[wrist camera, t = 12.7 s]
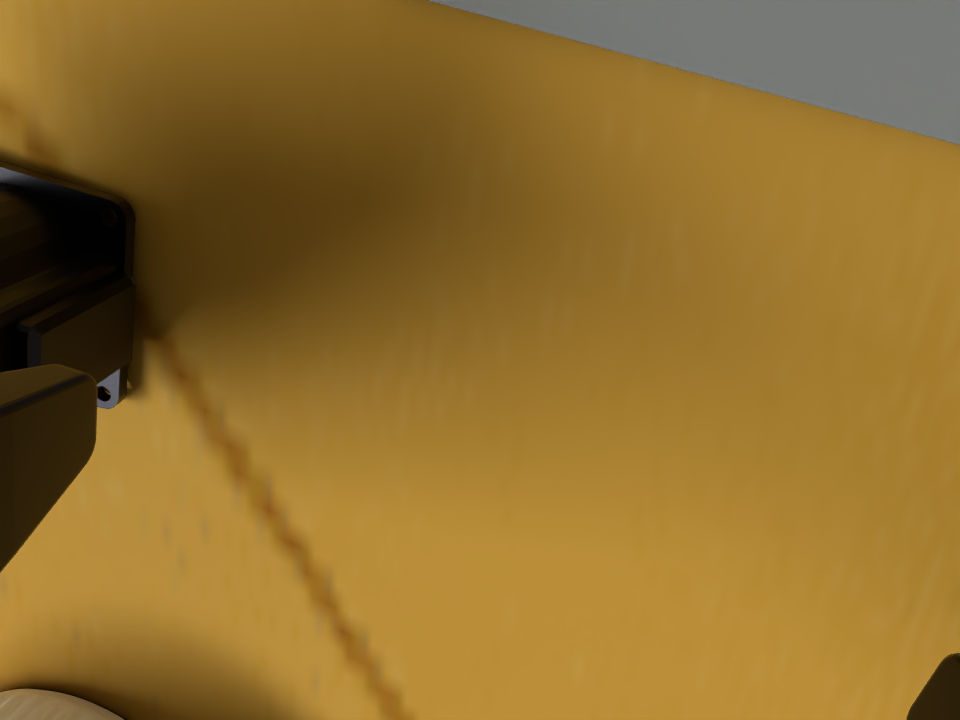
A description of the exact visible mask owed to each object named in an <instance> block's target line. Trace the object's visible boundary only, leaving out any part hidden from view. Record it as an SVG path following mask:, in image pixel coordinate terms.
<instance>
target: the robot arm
mask: <svg viewBox="0 0 960 720" xmlns="http://www.w3.org/2000/svg"><path fill="white" fill-rule="evenodd" d="M110 209H111V210H113V211H114V212H115V213H116V215H117V217H118V223H116V222H114V221H113V220H112V218H111V217H110V212H109V211H110ZM134 233H135V215H134V211H133V209H132V207H131V205H130V204H129V203H128V202H127V201H126V200H124V199H122V198H120V197H118V196H115V195H111V194H108V193H105V192H101V191H98V190H95V189H91V188H88V187H85V186H82V185H78V184H75V183H72V182H68V181H65V180H62V179H58V178H55V177H52V176H48V175H45V174H42V173H38V172H35V171H32V170H28V169H25V168H22V167H18V166H15V165H12V164H8V163H5V162H2V161H0V572H1V571H2V570H3V569H4V567H5V566H6V565H7V564H8V563H9V561H10V560H11V559H12V558H13V557H14V555H15V554H16V553H17V552H18V550H19V549H20V548H21V547H22V545H23V544H24V543H25V541H26V540H27V539H28V538H29V536H30V535H31V534H32V533H33V531H34V530H35V529H36V527H37V526H38V525H39V524H40V522H41V521H42V520H43V519H44V517H45V516H46V515H47V513H48V512H49V511H50V510H51V508H52V507H53V506H54V505H55V503H56V502H57V501H58V499H59V498H60V497H61V496H62V494H63V493H64V492H65V491H66V489H67V488H68V487H69V485H70V484H71V483H72V482H73V480H74V479H75V478H76V477H77V475H78V474H79V473H80V471H81V470H82V469H83V468H84V466H85V465H86V464H87V462H88V461H89V459H90V457H91V455H92V453H93V450H94V447H95V442H96V423H97V407H100V408H105V409H110V408H113V407H115V406H116V405H117V404H119V403H120V402H121V401H122V400H123V399H124V398H125V396H126V389H127V369H128V363H129V362H130V361H131V359H132V345H133V326H134V307H135V289H136V286H135V283H134V281H133V278H132V272H133V252H134ZM103 387H105V388H107V389H108V390H109V392H110V395H109V394H107V393H106V392H105V390H104V388H103ZM907 720H960V653H955V654H950V655H948V656H947V657H946V658H944V659H943V661H942V662H941V663H940V664H939V666H938V667H937V669H936V670H935V672H934V673H933V675H932V676H931V678H930V679H929V681H928V682H927V684H926V685H925V687H924V688H923V690H922V691H921V693H920V694H919V696H918V697H917V699H916V700H915V702H914V703H913V705H912V706H911V708H910V710H909V713H908V715H907Z"/></svg>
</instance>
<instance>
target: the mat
mask: <svg viewBox="0 0 960 720" xmlns="http://www.w3.org/2000/svg"><path fill="white" fill-rule="evenodd" d="M428 1H432V2H436V3H439V4H443V5H447V6H450V7H454V8H458V9H461V10H465V11H469V12H472V13H476V14H480V15H483V16H487V17H491V18H494V19H498V20H502V21H505V22H509V23H513V24H516V25H520V26H524V27H527V28H531V29H535V30H539V31H542V32H546V33H550V34H553V35H557V36H561V37H564V38H568V39H572V40H575V41H579V42H583V43H586V44H590V45H594V46H597V47H601V48H605V49H608V50H612V51H616V52H619V53H623V54H627V55H630V56H634V57H638V58H642V59H645V60H649V61H653V62H656V63H660V64H664V65H667V66H671V67H675V68H678V69H682V70H686V71H689V72H693V73H697V74H700V75H704V76H708V77H711V78H715V79H719V80H722V81H726V82H730V83H733V84H737V85H741V86H744V87H748V88H752V89H756V90H759V91H763V92H767V93H770V94H774V95H778V96H781V97H785V98H789V99H792V100H796V101H800V102H803V103H807V104H811V105H814V106H818V107H822V108H825V109H829V110H833V111H836V112H840V113H844V114H847V115H851V116H855V117H859V118H862V119H866V120H870V121H873V122H877V123H881V124H884V125H888V126H892V127H895V128H899V129H903V130H906V131H910V132H914V133H917V134H921V135H925V136H928V137H932V138H936V139H939V140H943V141H947V142H950V143H954V144H958V145H960V0H428Z"/></svg>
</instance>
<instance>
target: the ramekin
mask: <svg viewBox="0 0 960 720" xmlns="http://www.w3.org/2000/svg"><path fill="white" fill-rule="evenodd" d="M0 720H124V719H123V718H121V717H119V716H118V715H116V714H114V713H112V712H111V711H109V710H107V709H104V708H102V707H100V706H98V705H96V704H94V703H91V702H89V701H86V700H83V699H81V698H78V697H74V696H71V695H68V694H64V693H60V692H54V691H47V690H38V689H15V690H9V691H3V692H0Z"/></svg>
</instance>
